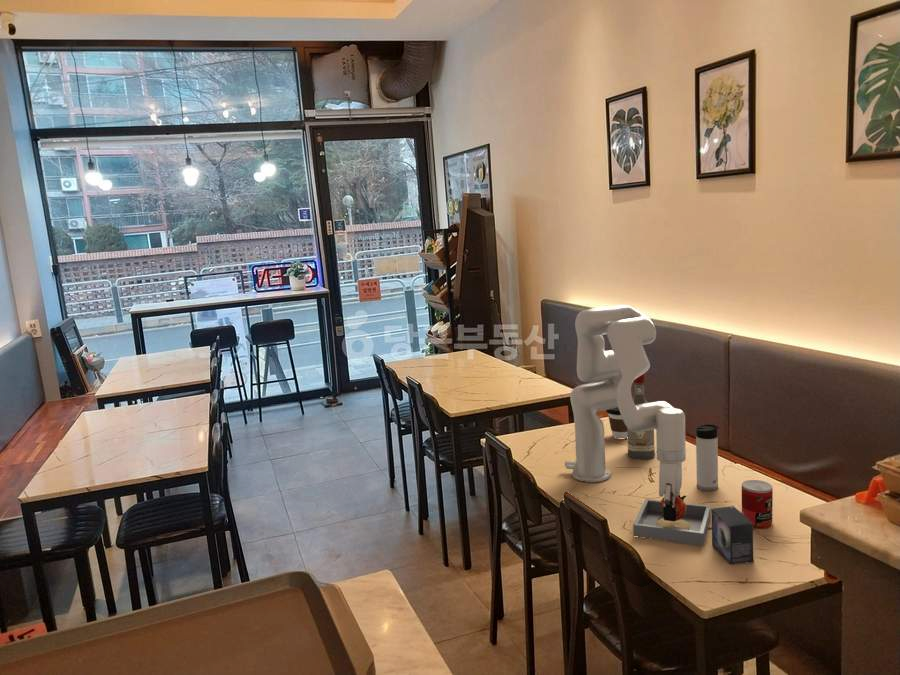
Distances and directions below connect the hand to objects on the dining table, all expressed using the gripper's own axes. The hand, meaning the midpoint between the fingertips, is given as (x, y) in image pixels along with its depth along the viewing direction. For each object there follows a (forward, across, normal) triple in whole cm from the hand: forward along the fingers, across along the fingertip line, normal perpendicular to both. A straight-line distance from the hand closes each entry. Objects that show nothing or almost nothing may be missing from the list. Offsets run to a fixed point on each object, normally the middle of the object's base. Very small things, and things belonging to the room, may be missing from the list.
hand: (672, 513), depth 193 cm
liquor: (+4, -55, -19) cm, 58 cm away
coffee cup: (+4, -73, -30) cm, 79 cm away
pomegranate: (+2, 0, 0) cm, 2 cm away
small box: (+4, +11, +16) cm, 20 cm away
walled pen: (+4, 0, 0) cm, 4 cm away
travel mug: (+4, -31, +6) cm, 32 cm away
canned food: (+4, -9, +21) cm, 23 cm away
